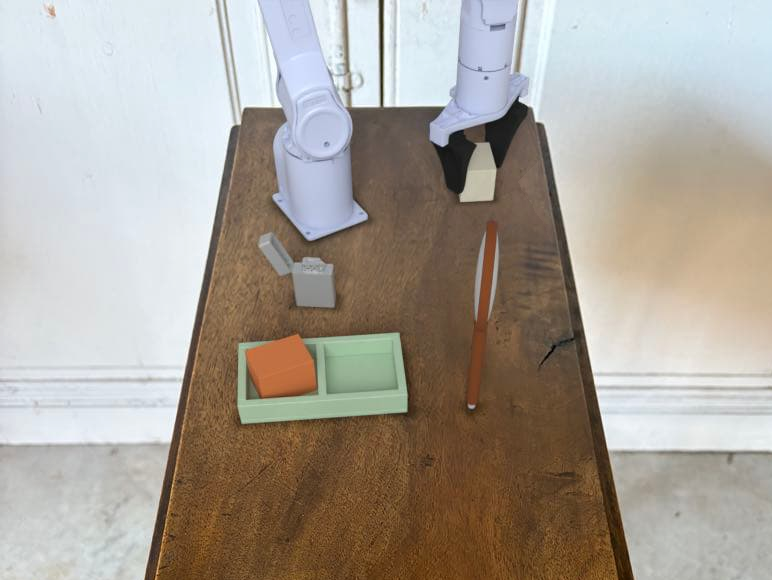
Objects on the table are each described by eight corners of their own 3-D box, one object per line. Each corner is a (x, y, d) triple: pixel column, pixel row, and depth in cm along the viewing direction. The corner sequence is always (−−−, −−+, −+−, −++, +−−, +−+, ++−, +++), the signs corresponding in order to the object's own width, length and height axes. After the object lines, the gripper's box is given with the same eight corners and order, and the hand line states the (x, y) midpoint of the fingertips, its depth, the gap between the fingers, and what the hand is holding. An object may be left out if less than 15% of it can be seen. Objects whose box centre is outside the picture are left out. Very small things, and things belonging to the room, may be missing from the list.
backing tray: (242, 360, 81) (238, 342, 79) (399, 350, 82) (399, 332, 80) (241, 424, 76) (237, 406, 74) (407, 412, 77) (407, 394, 75)
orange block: (302, 363, 80) (298, 333, 77) (317, 390, 78) (313, 360, 75) (250, 380, 79) (244, 350, 75) (264, 407, 77) (258, 378, 73)
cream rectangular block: (454, 174, 98) (456, 143, 94) (486, 173, 98) (489, 141, 95) (460, 202, 95) (462, 171, 91) (493, 200, 95) (496, 169, 92)
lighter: (336, 296, 86) (330, 233, 79) (334, 307, 85) (328, 244, 78) (271, 293, 86) (260, 230, 79) (268, 304, 85) (257, 241, 78)
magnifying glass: (476, 442, 75) (499, 269, 58) (458, 441, 75) (476, 267, 58) (483, 376, 80) (506, 197, 63) (466, 374, 80) (484, 196, 63)
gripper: (500, 20, 88) (488, 137, 99) (409, 69, 82) (408, 188, 94) (550, 43, 85) (532, 161, 97) (460, 96, 80) (452, 215, 91)
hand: (474, 176), depth 95 cm, fingers closed on cream rectangular block, 6 cm apart
